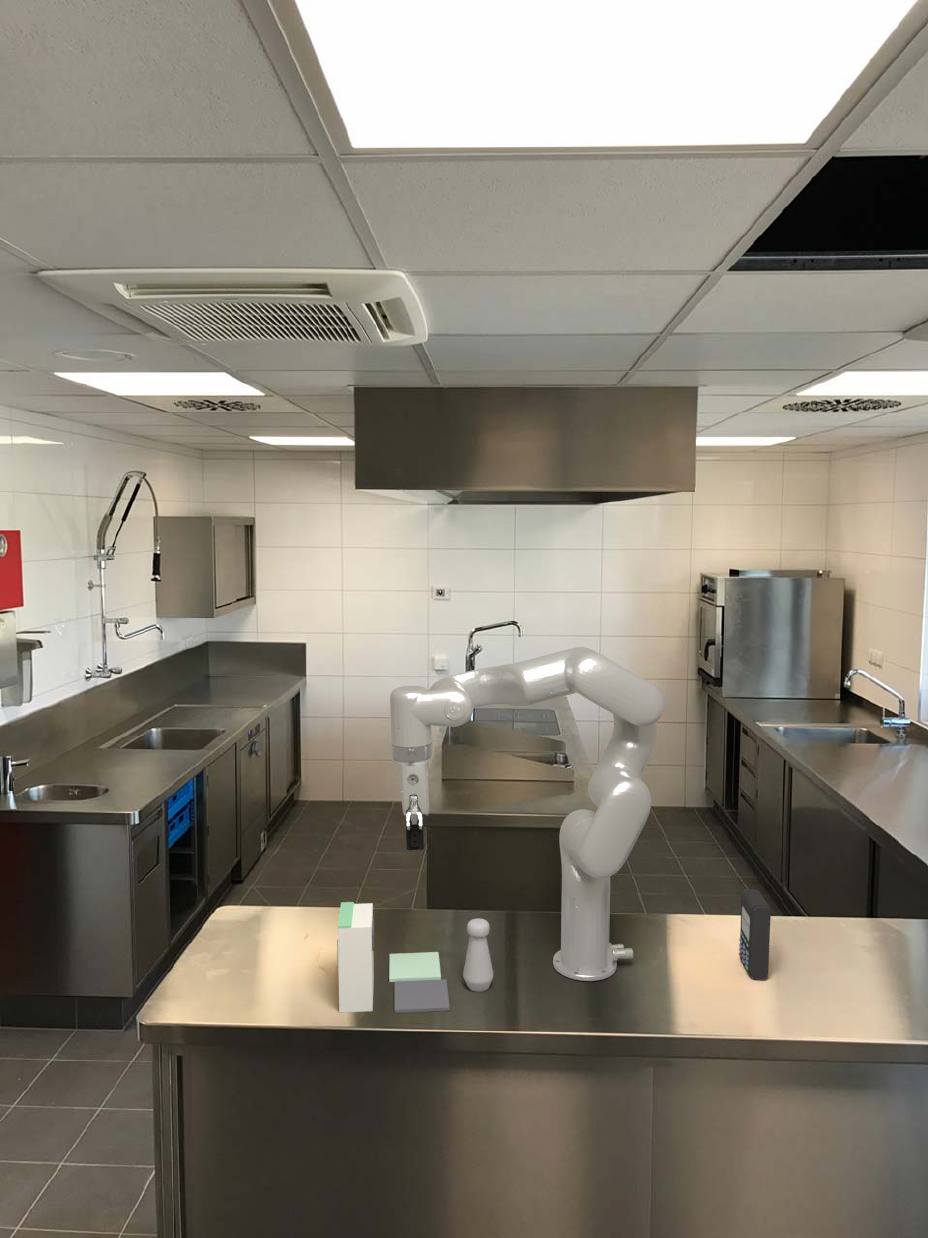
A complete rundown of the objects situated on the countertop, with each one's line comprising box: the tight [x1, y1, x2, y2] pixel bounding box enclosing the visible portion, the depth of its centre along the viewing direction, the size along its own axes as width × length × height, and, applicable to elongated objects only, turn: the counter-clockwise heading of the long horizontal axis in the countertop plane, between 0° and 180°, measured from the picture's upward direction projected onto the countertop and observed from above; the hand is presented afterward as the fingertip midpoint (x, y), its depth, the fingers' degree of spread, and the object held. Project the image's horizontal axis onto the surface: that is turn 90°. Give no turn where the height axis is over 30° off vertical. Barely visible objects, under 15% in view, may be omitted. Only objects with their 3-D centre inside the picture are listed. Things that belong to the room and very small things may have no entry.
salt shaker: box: [462, 918, 494, 993], centre depth 168 cm, size 6×6×13 cm
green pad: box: [388, 951, 442, 983], centre depth 176 cm, size 10×10×1 cm
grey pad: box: [394, 978, 450, 1014], centre depth 165 cm, size 10×10×1 cm
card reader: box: [738, 888, 772, 980], centre depth 174 cm, size 9×4×15 cm, turn 177°
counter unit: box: [336, 901, 375, 1014], centre depth 164 cm, size 7×10×16 cm, turn 5°
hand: (415, 839), depth 168 cm, fingers open, 9 cm apart
